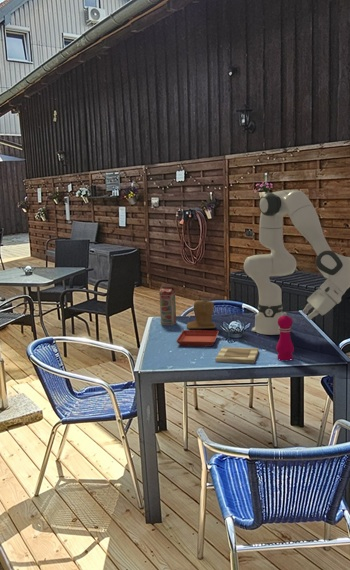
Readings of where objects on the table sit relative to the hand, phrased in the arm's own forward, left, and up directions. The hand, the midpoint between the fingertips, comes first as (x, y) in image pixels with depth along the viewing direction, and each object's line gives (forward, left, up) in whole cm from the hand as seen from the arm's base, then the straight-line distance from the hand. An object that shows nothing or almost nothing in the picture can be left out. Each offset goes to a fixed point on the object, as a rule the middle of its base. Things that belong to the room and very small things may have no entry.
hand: (305, 315), depth 210 cm
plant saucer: (-18, -50, -19) cm, 57 cm away
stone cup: (-42, -54, -19) cm, 71 cm away
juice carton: (-49, -74, -18) cm, 91 cm away
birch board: (+2, -28, -18) cm, 34 cm away
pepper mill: (+2, -8, -18) cm, 20 cm away
